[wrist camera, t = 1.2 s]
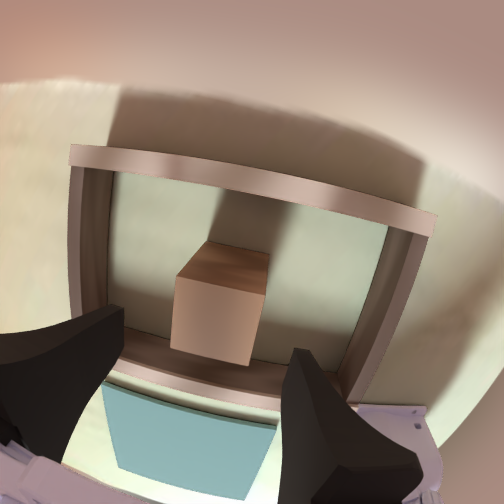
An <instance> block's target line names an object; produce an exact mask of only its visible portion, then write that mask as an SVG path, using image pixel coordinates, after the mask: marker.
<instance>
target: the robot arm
mask: <svg viewBox="0 0 504 504" xmlns="http://www.w3.org/2000/svg"><path fill="white" fill-rule="evenodd" d="M123 349H124V308H122V307H119V306H115V305H112V304H111V305H107V306H104V307H102V308H99V309H97V310H94V311H92V312H89V313H86V314H84V315H81V316H79V317H76V318H74V319H71V320H68V321H65V322H62V323H59V324H56V325H53V326H49V327H45V328H41V329H37V330H32V331H25V332H18V333H7V334H0V504H150V503H147V502H145V501H142V500H140V499H137V498H135V497H132V496H130V495H127V494H125V493H122V492H119V491H117V490H114V489H112V488H109V487H107V486H104V485H102V484H100V483H97V482H95V481H93V480H91V479H88V478H86V477H84V476H82V475H80V474H78V473H76V472H74V471H72V470H70V469H68V468H66V467H64V466H62V465H60V464H61V461H62V458H63V455H64V453H65V450H66V447H67V445H68V442H69V440H70V438H71V435H72V433H73V431H74V429H75V426H76V424H77V422H78V420H79V418H80V416H81V414H82V412H83V410H84V409H85V407H86V405H87V403H88V402H89V400H90V399H91V397H92V396H93V394H94V393H95V392H96V390H97V389H98V387H99V386H100V385H101V383H102V382H103V381H104V379H105V378H106V376H107V375H108V374H109V372H110V371H111V370H112V368H113V367H114V365H115V364H116V362H117V360H118V358H119V356H120V354H121V352H122V350H123ZM358 406H359V408H358V410H357V412H355V411H354V410H353V409H352V408H351V407H350V406H349V405H348V404H347V403H346V402H345V400H344V399H343V398H342V397H341V396H340V394H339V393H338V392H337V391H336V390H335V388H334V387H333V386H332V384H331V383H330V382H329V380H328V379H327V377H326V376H325V374H324V373H323V371H322V370H321V368H320V367H319V365H318V363H317V362H316V360H315V359H314V357H313V355H312V354H311V352H310V351H309V350H304V349H298V348H294V351H293V354H292V357H291V360H290V363H289V366H288V369H287V372H286V375H285V378H284V381H283V384H282V392H281V404H280V407H281V429H282V468H281V478H280V488H279V496H278V503H277V504H444V502H443V500H442V497H441V495H440V494H439V492H437V491H438V489H439V487H440V485H441V482H442V477H443V463H442V459H441V456H440V453H439V451H438V449H437V446H436V444H435V441H434V439H433V437H432V435H431V432H430V430H429V428H428V425H427V423H426V421H425V419H424V417H423V416H424V415H425V413H426V412H427V408H426V406H394V405H371V404H358Z"/></svg>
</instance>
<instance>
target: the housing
mask: <svg viewBox="0 0 504 504" xmlns="http://www.w3.org/2000/svg"><path fill="white" fill-rule="evenodd" d="M69 165H70V166H71V175H70V187H69V203H68V235H67V247H68V280H69V296H70V308H71V318H72V319H74V318H76V317H79V316H81V315H84V314H86V313H89V312H92V311H94V310H97V309H99V308H102V307H104V306H107V241H108V223H109V209H110V197H111V187H112V178H113V171H120V172H127V173H134V174H141V175H148V176H154V177H161V178H167V179H173V180H180V181H186V182H191V183H197V184H203V185H209V186H214V187H220V188H225V189H230V190H236V191H241V192H246V193H251V194H256V195H261V196H266V197H270V198H275V199H280V200H285V201H289V202H294V203H298V204H303V205H307V206H312V207H316V208H320V209H325V210H329V211H333V212H337V213H341V214H345V215H349V216H353V217H357V218H361V219H365V220H369V221H373V222H377V223H381V224H385V225H388V226H389V230H388V233H387V237H386V240H385V244H384V247H383V251H382V254H381V257H380V260H379V263H378V267H377V270H376V273H375V276H374V279H373V282H372V285H371V288H370V291H369V294H368V296H367V299H366V302H365V305H364V308H363V310H362V313H361V316H360V318H359V321H358V324H357V326H356V329H355V331H354V334H353V337H352V339H351V342H350V344H349V346H348V349H347V351H346V354H345V356H344V358H343V361H342V363H341V365H340V368H339V370H338V372H337V373H333V372H325V371H323V373H324V374H325V376H326V377H327V379H328V380H329V382H330V383H331V384H332V386H333V387H334V388H335V390H336V391H337V392H338V393H339V394H340V396H341V397H342V398H343V399H344V400H345V402H346V403H347V404H348V405H349V406H350V407H351V408H352V409H353V410H354V411H355V412H357V410H358V408H359V406H358V404H359V402H360V400H361V399H362V397H363V395H364V393H365V391H366V389H367V388H368V386H369V384H370V382H371V380H372V378H373V376H374V374H375V372H376V370H377V368H378V366H379V364H380V362H381V360H382V358H383V356H384V353H385V351H386V349H387V347H388V345H389V343H390V340H391V338H392V336H393V334H394V331H395V329H396V327H397V324H398V322H399V320H400V317H401V315H402V312H403V310H404V307H405V305H406V302H407V300H408V297H409V294H410V292H411V289H412V286H413V284H414V281H415V278H416V275H417V272H418V269H419V266H420V263H421V260H422V257H423V254H424V251H425V248H426V245H427V241H428V238H429V237H432V234H433V231H434V227H435V223H436V220H437V215H435V214H432V213H429V212H426V211H422V210H419V209H416V208H413V207H410V206H407V205H404V204H401V203H398V202H394V201H391V200H387V199H384V198H380V197H377V196H373V195H370V194H366V193H362V192H359V191H355V190H351V189H347V188H343V187H339V186H336V185H331V184H327V183H323V182H319V181H315V180H311V179H306V178H302V177H298V176H293V175H288V174H284V173H279V172H274V171H269V170H265V169H259V168H254V167H249V166H244V165H238V164H233V163H227V162H221V161H216V160H209V159H203V158H197V157H190V156H183V155H176V154H169V153H162V152H154V151H145V150H137V149H127V148H117V147H106V146H91V145H77V144H71V148H70V156H69ZM170 343H171V340H168V339H164V338H160V337H157V336H153V335H150V334H146V333H143V332H140V331H136V330H133V329H130V328H127V327H124V349H123V350H122V352H121V354H120V356H119V358H118V360H117V362H116V364H115V365H114V367H113V368H112V369H113V370H115V371H118V372H121V373H124V374H127V375H130V376H133V377H136V378H139V379H142V380H145V381H148V382H151V383H155V384H158V385H161V386H165V387H168V388H172V389H175V390H179V391H183V392H186V393H190V394H194V395H198V396H202V397H206V398H211V399H215V400H220V401H224V402H229V403H234V404H239V405H244V406H249V407H255V408H260V409H266V410H273V411H279V412H281V407H280V404H281V392H282V384H283V381H284V378H285V375H286V372H287V369H288V366H286V365H280V364H274V363H269V362H263V361H258V360H253V359H250V361H249V365H248V366H245V365H240V364H235V363H230V362H226V361H221V360H217V359H212V358H208V357H204V356H200V355H196V354H192V353H188V352H184V351H180V350H176V349H173V348H170Z"/></svg>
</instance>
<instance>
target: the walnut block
mask: <svg viewBox="0 0 504 504" xmlns="http://www.w3.org/2000/svg"><path fill="white" fill-rule="evenodd" d="M268 262H269V254H265V253H260V252H256V251H251V250H246V249H241V248H237V247H232V246H227V245H222V244H217V243H213V242H208V241H206V242H205V243H204V244H203V245H202V246H201V247H200V249H199V250H198V251H197V252H196V253H195V254H194V256H193V257H192V258H191V259H190V260H189V262H188V263H187V264H186V265H185V266H184V267H183V269H182V270H181V271H180V272H179V273H178V275H177V276H176V283H175V294H174V304H173V316H172V329H171V343H170V348H173V349H176V350H180V351H184V352H188V353H192V354H196V355H200V356H204V357H208V358H212V359H217V360H221V361H226V362H230V363H235V364H240V365H245V366H248V365H249V361H250V357H251V353H252V349H253V345H254V341H255V337H256V333H257V328H258V324H259V320H260V316H261V312H262V308H263V303H264V299H265V294H266V283H267V273H268Z"/></svg>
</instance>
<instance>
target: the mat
mask: <svg viewBox="0 0 504 504" xmlns="http://www.w3.org/2000/svg"><path fill="white" fill-rule="evenodd" d="M101 388H102V394H103V400H104V405H105V411H106V416H107V421H108V426H109V431H110V435H111V439H112V444H113V448H114V452H115V456H116V460H117V463H118V467H119V468H121V469H124V470H126V471H129V472H132V473H135V474H137V475H140V476H143V477H146V478H149V479H152V480H156V481H159V482H162V483H166V484H169V485H173V486H176V487H180V488H184V489H188V490H192V491H196V492H200V493H205V494H210V495H215V496H220V497H225V498H231V499H237V500H243V501H244V500H245V498H246V496H247V494H248V492H249V490H250V488H251V486H252V484H253V481H254V479H255V477H256V475H257V473H258V471H259V469H260V467H261V464H262V462H263V460H264V458H265V455H266V453H267V451H268V449H269V446H270V444H271V442H272V440H273V437H274V435H275V432H276V430H277V426H273V425H266V424H260V423H254V422H248V421H243V420H238V419H233V418H228V417H223V416H218V415H214V414H209V413H205V412H201V411H197V410H193V409H189V408H185V407H181V406H178V405H174V404H171V403H167V402H164V401H160V400H157V399H154V398H151V397H147V396H144V395H141V394H138V393H135V392H132V391H129V390H127V389H124V388H121V387H118V386H115V385H113V384H110V383H107V382H105V381H103V382H102V383H101Z"/></svg>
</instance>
